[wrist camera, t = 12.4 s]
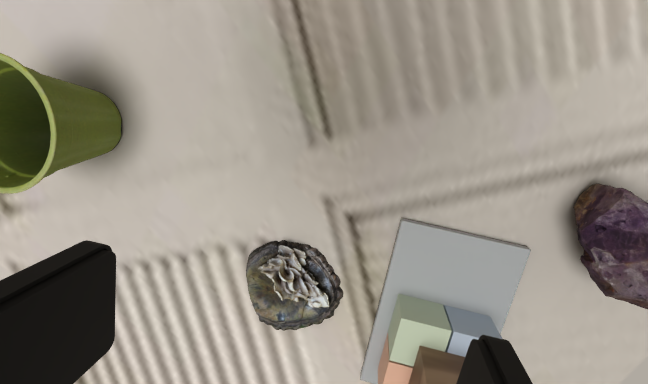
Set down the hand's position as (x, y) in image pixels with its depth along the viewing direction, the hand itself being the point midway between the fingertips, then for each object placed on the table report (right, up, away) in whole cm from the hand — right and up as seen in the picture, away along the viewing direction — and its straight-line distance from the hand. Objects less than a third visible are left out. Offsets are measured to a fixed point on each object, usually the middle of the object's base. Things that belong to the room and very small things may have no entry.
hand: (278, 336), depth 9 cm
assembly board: (+14, -10, +30) cm, 35 cm away
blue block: (+16, -11, +29) cm, 35 cm away
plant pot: (-25, +12, +32) cm, 42 cm away
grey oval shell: (-3, -7, +33) cm, 34 cm away
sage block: (+11, -10, +30) cm, 33 cm away
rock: (+30, -1, +26) cm, 40 cm away
